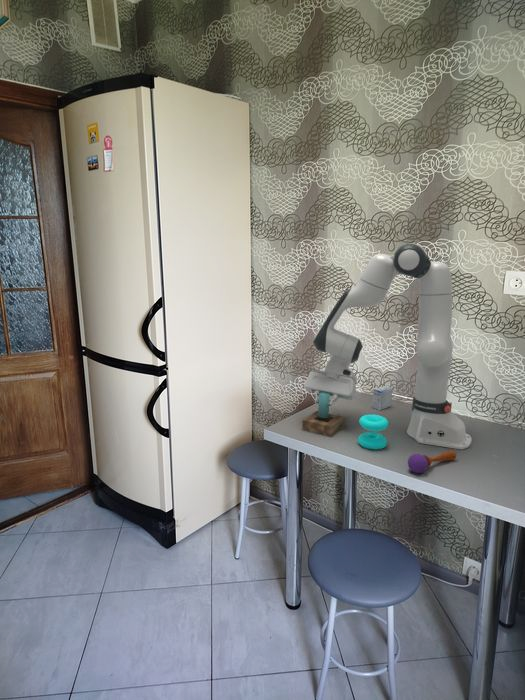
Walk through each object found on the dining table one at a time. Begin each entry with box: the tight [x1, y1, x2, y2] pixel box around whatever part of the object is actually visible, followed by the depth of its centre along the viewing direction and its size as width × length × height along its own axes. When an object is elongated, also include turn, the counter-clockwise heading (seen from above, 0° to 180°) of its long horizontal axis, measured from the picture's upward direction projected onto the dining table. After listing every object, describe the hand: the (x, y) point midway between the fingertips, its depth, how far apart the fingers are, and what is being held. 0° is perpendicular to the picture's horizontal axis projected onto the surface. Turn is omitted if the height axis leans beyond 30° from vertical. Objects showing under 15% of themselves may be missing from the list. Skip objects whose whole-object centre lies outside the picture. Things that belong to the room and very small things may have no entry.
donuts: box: [357, 413, 389, 450], centre depth 163 cm, size 10×10×10 cm
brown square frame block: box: [301, 410, 345, 438], centre depth 178 cm, size 12×12×4 cm
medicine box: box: [371, 385, 393, 411], centre depth 201 cm, size 8×4×9 cm, turn 130°
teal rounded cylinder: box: [317, 392, 331, 418], centre depth 176 cm, size 4×4×9 cm
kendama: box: [407, 449, 457, 474], centre depth 148 cm, size 6×6×20 cm
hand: (323, 403), depth 175 cm, fingers closed on teal rounded cylinder, 4 cm apart
